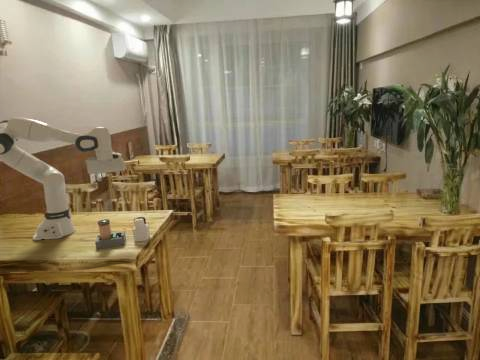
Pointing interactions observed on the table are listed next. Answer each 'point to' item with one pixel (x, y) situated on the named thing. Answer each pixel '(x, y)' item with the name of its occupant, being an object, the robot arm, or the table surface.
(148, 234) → the medicine bottle
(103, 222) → the terracotta jar
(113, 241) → the grey rectangular box
